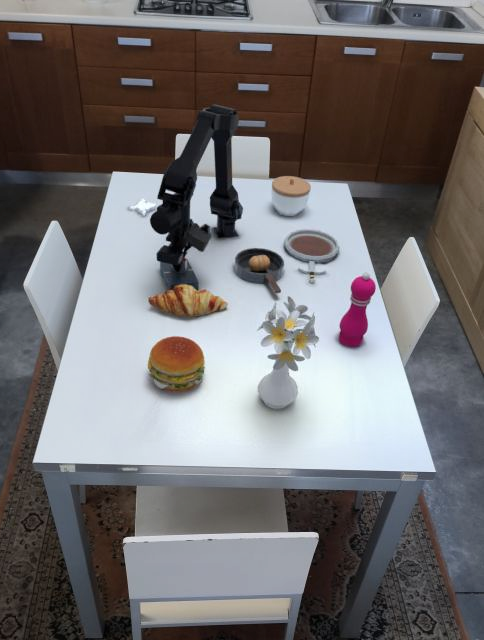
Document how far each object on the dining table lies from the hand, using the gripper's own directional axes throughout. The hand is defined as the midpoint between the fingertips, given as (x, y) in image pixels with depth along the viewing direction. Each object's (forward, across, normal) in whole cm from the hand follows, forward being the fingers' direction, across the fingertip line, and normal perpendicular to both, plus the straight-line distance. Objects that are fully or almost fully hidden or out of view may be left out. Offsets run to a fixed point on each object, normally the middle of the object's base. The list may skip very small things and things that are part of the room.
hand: (178, 269), depth 179 cm
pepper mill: (+4, -9, -51) cm, 52 cm away
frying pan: (+4, +26, -33) cm, 42 cm away
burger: (+4, -39, -13) cm, 42 cm away
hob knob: (0, 0, 0) cm, 0 cm away
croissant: (+4, -12, -7) cm, 15 cm away
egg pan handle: (+1, +4, -26) cm, 26 cm away
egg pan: (+4, +14, -20) cm, 24 cm away
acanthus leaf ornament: (+4, +35, +25) cm, 43 cm away
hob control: (+4, 0, 0) cm, 4 cm away
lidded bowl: (+4, +53, -20) cm, 57 cm away
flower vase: (+4, -39, -39) cm, 55 cm away
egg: (+3, +14, -20) cm, 24 cm away
